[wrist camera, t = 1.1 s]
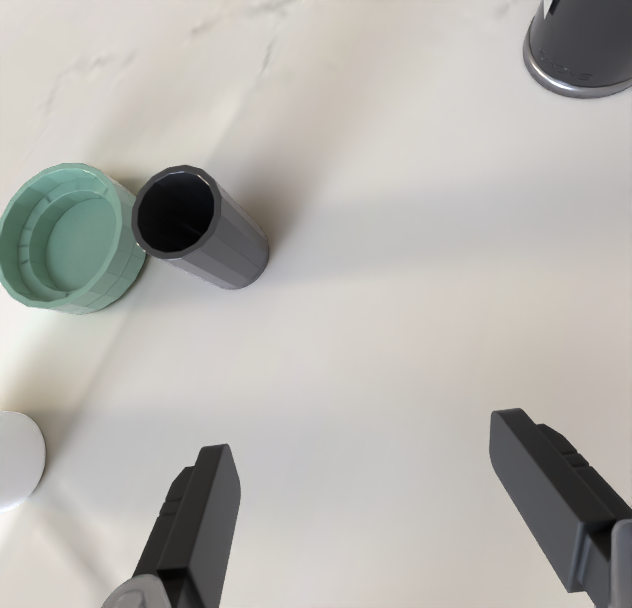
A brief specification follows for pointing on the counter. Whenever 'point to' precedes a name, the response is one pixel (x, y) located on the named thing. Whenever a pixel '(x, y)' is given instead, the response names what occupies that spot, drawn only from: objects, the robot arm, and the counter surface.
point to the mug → (19, 458)
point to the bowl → (69, 241)
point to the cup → (198, 228)
